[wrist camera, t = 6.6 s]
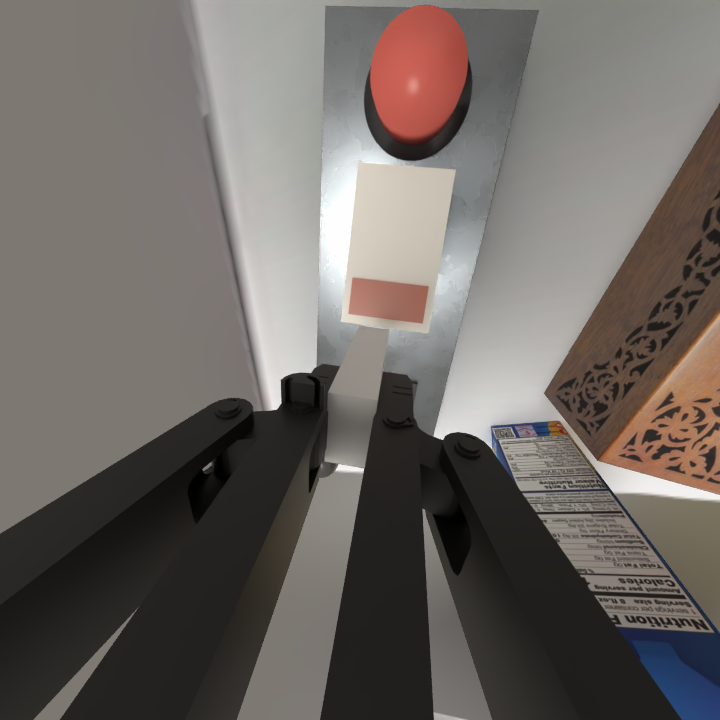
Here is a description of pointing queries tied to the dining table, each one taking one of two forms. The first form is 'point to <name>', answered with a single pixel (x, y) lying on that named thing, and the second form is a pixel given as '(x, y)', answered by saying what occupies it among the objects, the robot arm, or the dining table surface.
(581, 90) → the dining table surface
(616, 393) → the tissue box cover
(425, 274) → the plate
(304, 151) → the dining table surface
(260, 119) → the dining table surface
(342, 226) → the console
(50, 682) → the robot arm
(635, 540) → the beverage box
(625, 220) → the dining table surface
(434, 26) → the button
